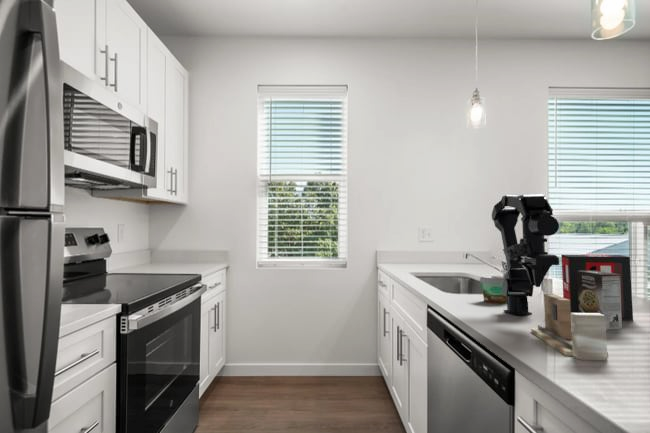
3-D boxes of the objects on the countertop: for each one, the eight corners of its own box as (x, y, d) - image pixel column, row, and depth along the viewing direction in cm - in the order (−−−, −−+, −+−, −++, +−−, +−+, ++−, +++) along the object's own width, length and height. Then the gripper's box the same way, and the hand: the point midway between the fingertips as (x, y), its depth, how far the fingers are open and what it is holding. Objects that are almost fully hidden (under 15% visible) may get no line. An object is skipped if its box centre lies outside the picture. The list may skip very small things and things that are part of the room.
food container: (484, 304, 142) (483, 278, 142) (480, 300, 148) (479, 276, 148) (517, 304, 140) (516, 278, 140) (512, 301, 146) (511, 276, 146)
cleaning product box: (571, 317, 119) (568, 256, 120) (564, 311, 127) (561, 254, 128) (633, 320, 113) (629, 256, 114) (620, 314, 122) (617, 254, 122)
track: (531, 331, 104) (529, 296, 104) (565, 332, 102) (563, 297, 103) (571, 359, 82) (569, 315, 82) (614, 360, 81) (612, 315, 81)
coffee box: (578, 322, 113) (575, 270, 113) (597, 321, 113) (594, 269, 114) (603, 330, 104) (600, 274, 104) (623, 329, 104) (620, 273, 105)
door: (544, 329, 102) (542, 293, 102) (555, 329, 101) (553, 293, 102) (560, 339, 93) (558, 300, 93) (571, 339, 92) (570, 300, 93)
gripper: (495, 235, 121) (497, 281, 121) (516, 236, 103) (519, 291, 102) (531, 234, 120) (533, 281, 119) (559, 235, 101) (561, 291, 101)
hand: (535, 286), depth 110 cm, fingers open, 3 cm apart
